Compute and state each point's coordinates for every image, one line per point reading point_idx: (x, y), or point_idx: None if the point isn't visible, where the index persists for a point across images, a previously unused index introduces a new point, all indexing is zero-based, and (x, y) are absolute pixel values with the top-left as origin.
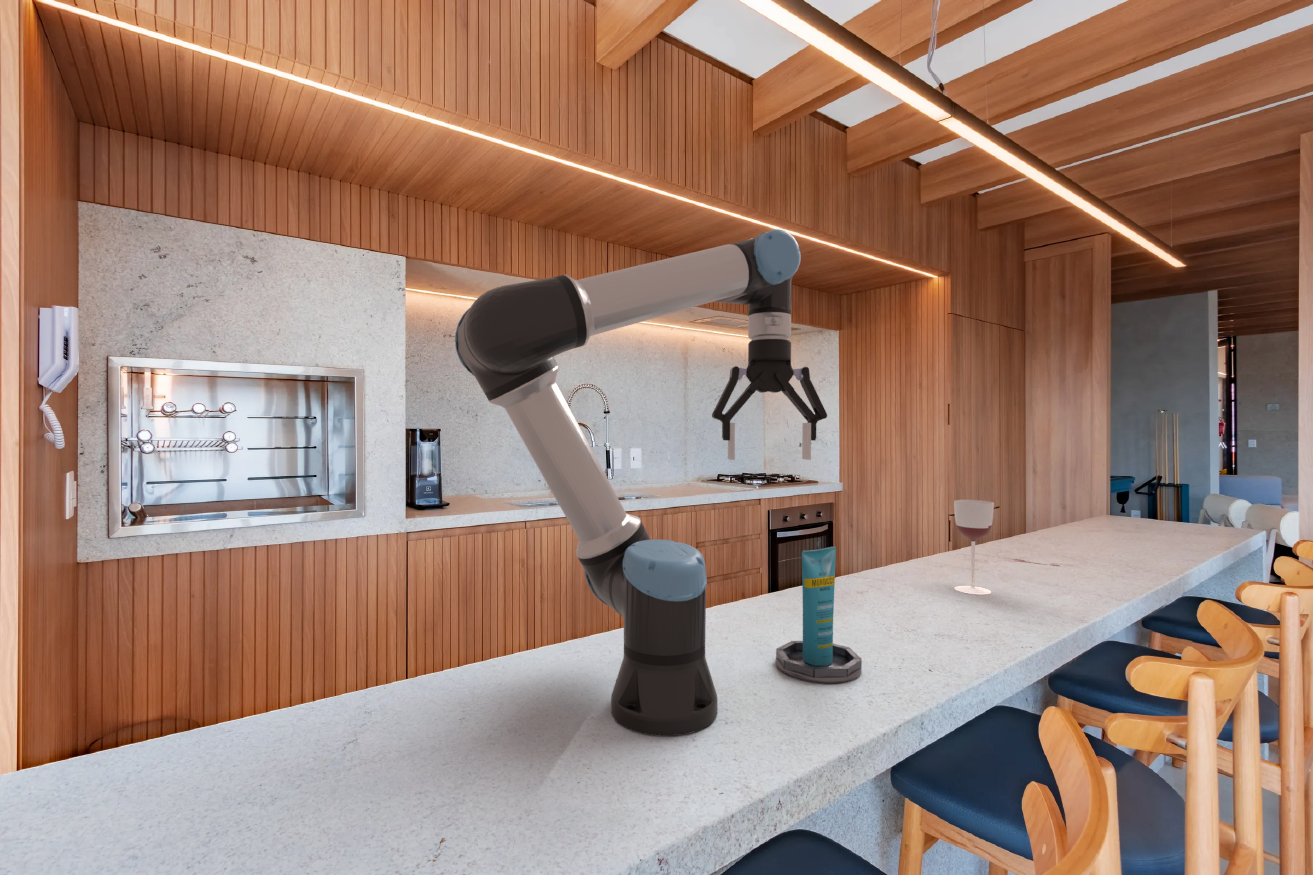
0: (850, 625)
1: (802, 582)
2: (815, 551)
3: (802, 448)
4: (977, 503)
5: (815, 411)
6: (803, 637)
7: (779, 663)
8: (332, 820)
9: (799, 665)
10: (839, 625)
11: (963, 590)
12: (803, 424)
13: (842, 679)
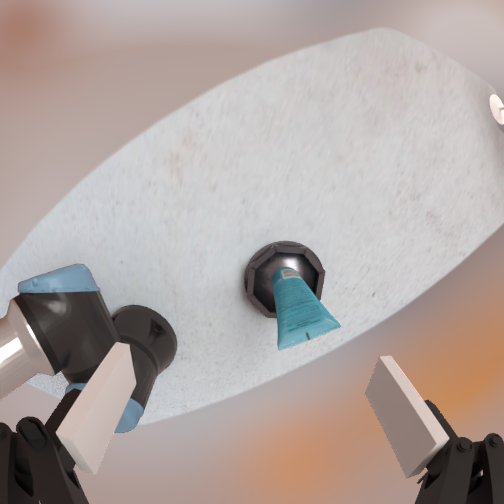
0: (370, 168)
1: (277, 319)
2: (302, 340)
3: (392, 378)
4: None
5: (484, 466)
6: (273, 289)
7: (246, 280)
8: (46, 379)
9: (257, 307)
10: (359, 165)
11: (493, 108)
12: (426, 448)
13: None
